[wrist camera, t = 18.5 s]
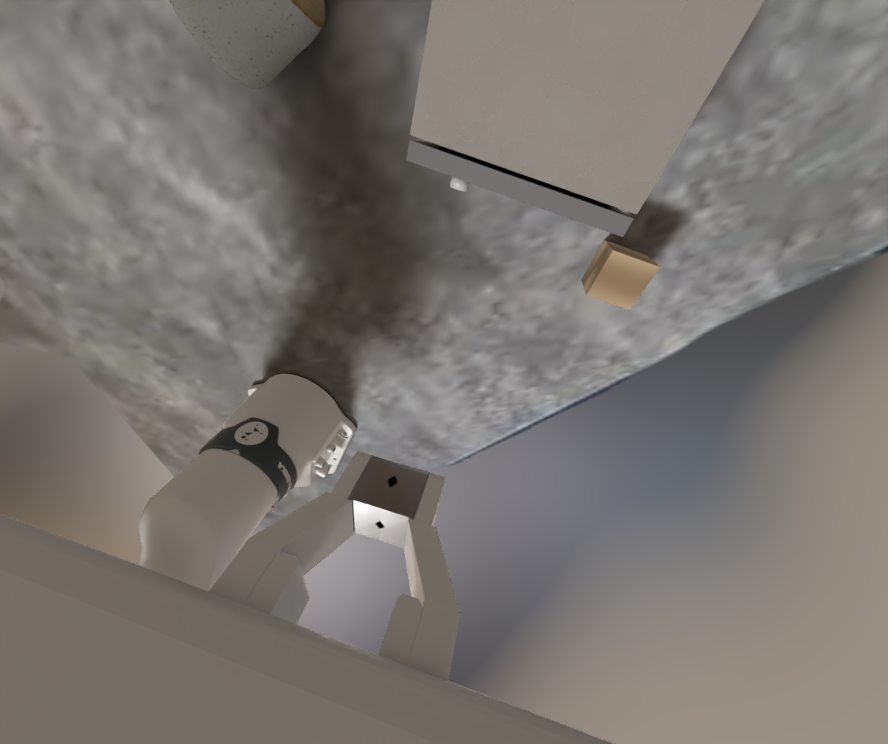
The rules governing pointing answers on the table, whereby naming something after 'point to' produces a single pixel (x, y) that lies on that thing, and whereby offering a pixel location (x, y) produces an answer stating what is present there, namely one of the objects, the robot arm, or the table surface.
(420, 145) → the tray
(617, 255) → the block
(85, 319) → the table surface
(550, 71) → the housing
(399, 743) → the robot arm
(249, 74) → the ceramic mug
